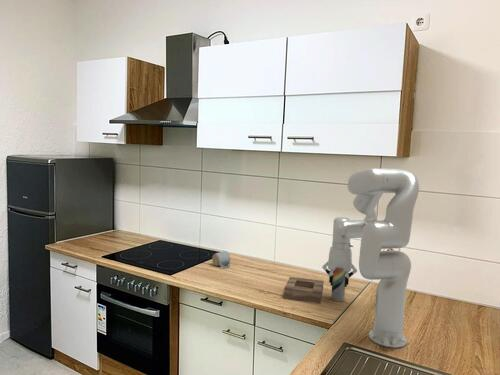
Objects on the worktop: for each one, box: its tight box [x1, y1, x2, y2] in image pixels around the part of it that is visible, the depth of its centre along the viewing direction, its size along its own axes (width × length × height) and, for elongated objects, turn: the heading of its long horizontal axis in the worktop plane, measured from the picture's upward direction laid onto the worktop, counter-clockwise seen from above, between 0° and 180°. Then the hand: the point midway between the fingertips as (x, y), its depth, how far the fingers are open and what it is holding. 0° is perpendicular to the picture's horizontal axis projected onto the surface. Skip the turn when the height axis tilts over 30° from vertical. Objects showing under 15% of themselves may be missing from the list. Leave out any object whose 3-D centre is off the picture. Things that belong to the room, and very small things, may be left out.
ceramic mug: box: [211, 250, 231, 269], centre depth 214 cm, size 11×8×8 cm
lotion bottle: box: [330, 267, 346, 302], centre depth 170 cm, size 6×6×20 cm
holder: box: [283, 276, 325, 304], centre depth 174 cm, size 16×16×5 cm
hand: (338, 284), depth 170 cm, fingers closed on lotion bottle, 5 cm apart
